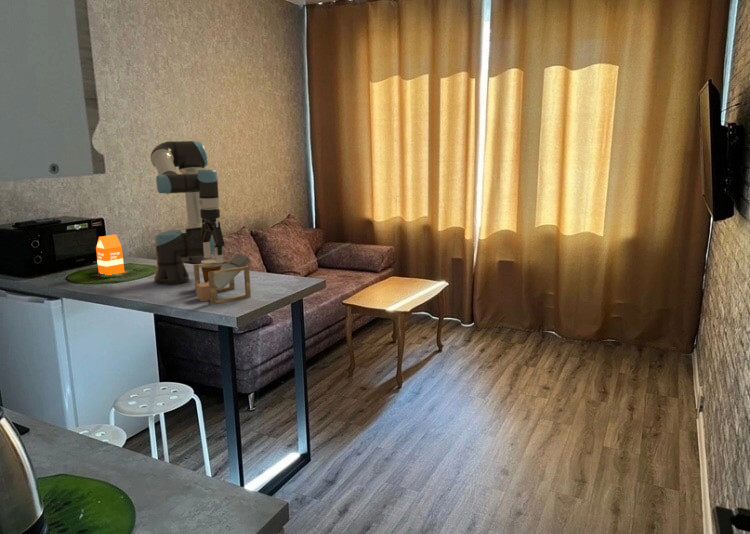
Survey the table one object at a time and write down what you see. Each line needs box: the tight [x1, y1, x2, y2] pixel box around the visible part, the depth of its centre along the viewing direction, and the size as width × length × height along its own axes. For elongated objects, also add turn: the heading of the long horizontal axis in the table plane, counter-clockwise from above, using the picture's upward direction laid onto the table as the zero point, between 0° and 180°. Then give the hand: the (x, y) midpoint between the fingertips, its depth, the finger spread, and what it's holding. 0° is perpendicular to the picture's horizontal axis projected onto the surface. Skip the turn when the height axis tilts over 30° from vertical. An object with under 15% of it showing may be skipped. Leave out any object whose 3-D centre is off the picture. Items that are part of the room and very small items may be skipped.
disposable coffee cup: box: [200, 258, 223, 283], centre depth 249 cm, size 10×10×12 cm
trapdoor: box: [208, 253, 251, 290], centre depth 235 cm, size 15×18×2 cm
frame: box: [193, 259, 252, 305], centre depth 234 cm, size 19×17×13 cm
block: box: [196, 282, 218, 302], centre depth 231 cm, size 6×6×6 cm
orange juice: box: [95, 233, 125, 275], centre depth 271 cm, size 8×9×20 cm
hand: (213, 260), depth 230 cm, fingers open, 13 cm apart
